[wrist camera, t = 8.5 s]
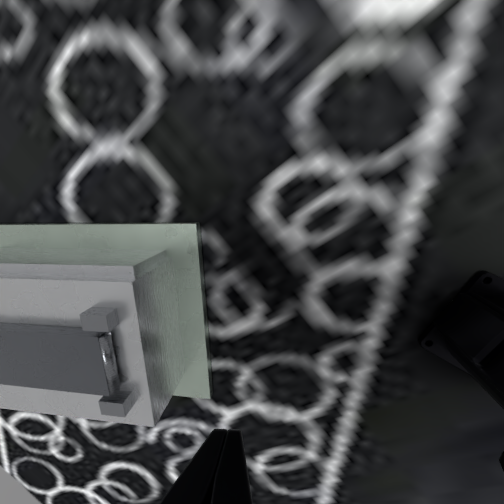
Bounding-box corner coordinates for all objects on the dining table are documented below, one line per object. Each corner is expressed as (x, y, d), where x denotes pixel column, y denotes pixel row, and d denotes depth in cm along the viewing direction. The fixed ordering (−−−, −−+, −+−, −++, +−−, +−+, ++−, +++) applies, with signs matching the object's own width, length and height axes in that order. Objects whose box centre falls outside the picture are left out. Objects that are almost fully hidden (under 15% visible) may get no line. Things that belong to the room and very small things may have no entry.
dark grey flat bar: (113, 329, 15) (103, 337, 14) (124, 386, 16) (115, 397, 15) (-76, 317, 17) (-94, 323, 16) (-57, 368, 18) (-72, 376, 17)
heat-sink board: (199, 222, 18) (120, 253, 10) (213, 391, 22) (163, 522, 14) (-35, 223, 21) (-253, 248, 13) (11, 372, 25) (-133, 468, 17)
